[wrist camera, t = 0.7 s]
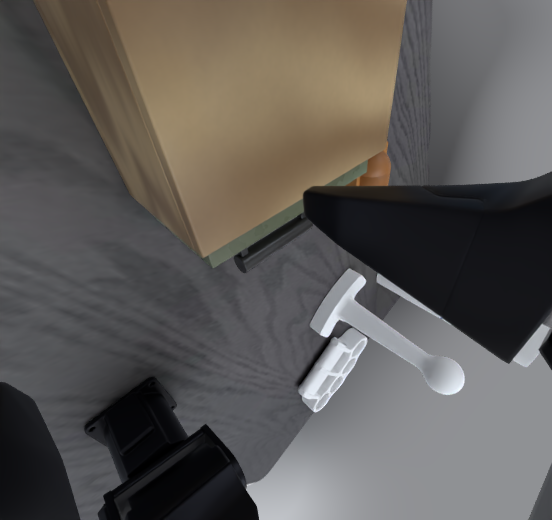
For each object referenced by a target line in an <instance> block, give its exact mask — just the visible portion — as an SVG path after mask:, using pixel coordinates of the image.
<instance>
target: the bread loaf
mask: <svg viewBox="0 0 552 520" xmlns="http://www.w3.org/2000/svg"><path fill="white" fill-rule="evenodd" d="M387 147H388V142H387V143H386V148H385V150H383V151H381V152H380V153H378V154H376V155H375V156H373V157H371V158H370V159H368V164H367V172H366V173H365V174H363V175H361V176H360V177H358V178H357V179H355V180H353V181H352V182H350V183H349V184H347V185H345V186H388V182H389V176H390V170H391V163H390V159H389V157H388V156H387Z"/></svg>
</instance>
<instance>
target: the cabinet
mask: <svg viewBox="0 0 552 520" xmlns="http://www.w3.org/2000/svg"><path fill="white" fill-rule="evenodd" d="M33 2H34V4H35V6H36V8H37V10H38V12H39V14H40V16H41V18H42V20H43V22H44V24H45V26H46V28H47V30H48V32H49V34H50V36H51V38H52V40H53V42H54V44H55V46H56V48H57V50H58V52H59V54H60V56H61V58H62V59H63V61H64V63H65V65H66V67H67V69H68V71H69V73H70V75H71V77H72V79H73V81H74V83H75V85H76V87H77V89H78V91H79V93H80V95H81V97H82V99H83V101H84V103H85V105H86V107H87V109H88V111H89V113H90V115H91V117H92V119H93V121H94V123H95V125H96V127H97V129H98V131H99V133H100V135H101V137H102V139H103V141H104V143H105V145H106V147H107V149H108V151H109V153H110V155H111V157H112V159H113V161H114V163H115V165H116V167H117V169H118V171H119V173H120V175H121V177H122V179H123V181H124V183H125V185H126V187H127V189H128V191H129V193H130V195H131V196H132V197H133V198H134V199H135V200H136V201H137V202H139V203H140V204H141V205H142V206H143V207H144V208H146V209H147V210H148V211H149V212H150V213H151V214H152V215H154V216H155V217H156V218H157V219H158V220H159V221H160V222H162V223H163V224H164V225H165V226H166V227H167V228H169V229H170V230H171V231H172V232H173V233H174V234H175V235H177V236H178V237H179V238H180V239H181V240H182V241H184V242H185V243H186V244H187V245H188V246H189V247H190V248H192V249H193V250H194V251H196V252H197V253H198V254H199V255H200V256H201V257H203V258H204V257H206V256H208V255H209V254H211V253H213V252H214V251H216V250H218V249H219V248H221V247H223V246H224V245H226V244H228V243H229V242H231V241H233V240H234V239H236V238H238V237H239V236H241V235H243V234H244V233H246V232H248V231H249V230H251V229H253V228H254V227H256V226H258V225H259V224H261V223H263V222H264V221H266V220H268V219H269V218H271V217H273V216H274V215H276V214H278V213H279V212H281V211H283V210H284V209H286V208H288V207H289V206H291V205H293V204H294V203H296V202H298V201H299V200H301V199H303V192H304V191H305V190H307V189H309V188H310V187H312V186H324V185H326V184H328V183H329V182H331V181H333V180H334V179H336V178H338V177H339V176H341V175H343V174H344V173H346V172H348V171H349V170H351V169H353V168H354V167H356V166H358V165H359V164H361V163H363V162H365V161H366V160H368V159H370V158H371V157H373V156H375V155H376V154H378V153H380V152H381V151H383V150H385V148H386V143H387V136H388V129H389V122H390V115H391V108H392V101H393V94H394V87H395V80H396V73H397V66H398V59H399V52H400V45H401V38H402V31H403V24H404V17H405V10H406V3H407V0H33Z"/></svg>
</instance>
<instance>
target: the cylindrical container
mask: <svg viewBox="0 0 552 520" xmlns="http://www.w3.org/2000/svg"><path fill="white" fill-rule="evenodd" d="M377 283H379V284H381V285H382V286H384V287H386V288H388V289H389V290H391V291H393V292H394V293H396V294H398V295H400V296H401V297H404V298H405V299H407V300H408V301H410V302H412V303H414V304H416V305H417V306H419V307H421V308H422V309H424V310H426V311H428V312H429V313H431V314H433V315H435V316H436V317H438V318H440V319H442V320H443V321H445V320H444V319H443V318H441V316H439V315H437V314H436V313H434V312H433V311H432V310H430V309H429V308H427V307H426V306H424V305H423V304H422V303H420V302H419V301H417V300H416V299H414V298H413V297H412V296H410V295H409V294H407V293H406V292H404V291H403V290H402V289H400V288H399V287H397V286H396V285H394V284H393V283H392V282H390V281H389V280H387V279H386V278H384V277H383V276H382V275H380V274H379V273H378V274H377ZM445 322H447V321H445ZM447 323H448V322H447ZM449 324H450V323H449ZM450 325H451V324H450ZM452 326H453V325H452ZM549 329H550V328H549V327H547V326H545V325H543V324H542V325H541V326H540V327H539V328H538V329H537V331H536V332H535V333H534V334H533V336H532V337H531V338H530V339H529V340H528V342H527V343H526V344H525V345H524V346H523V348H522V349H521V350H520V351H519V353H518V354H517V355H516V356H515V357H514V359H513V361H515V362H517V363H519V364H520V365H522V366H524V367H528V366H529V365H530V364H531V363H532V362H533V361H534V359H535V358H536V357H537V356H538V354H539V353H540V351H539V350H538V349H539V348H540V346H541V344H542V342H543V340H544V338H545V337H546V335H547V333H548V331H549Z"/></svg>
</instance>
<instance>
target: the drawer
mask: <svg viewBox="0 0 552 520" xmlns="http://www.w3.org/2000/svg"><path fill="white" fill-rule="evenodd" d="M367 164H368V160H366V161H365V162H363V163H361V164H359V165H358V166H356V167H354V168H353V169H351V170H349V171H348V172H346V173H344V174H343V175H341V176H339V177H338V178H336V179H334V180H333V181H331V182H329V183H328V184H326V185H324V186H345V185H347V184H349V183H350V182H352V181H353V180H355V179H357V178H358V177H360V176H361V175H363V174H365V173H366V172H367ZM296 216H297V217H296ZM154 217H155V216H154ZM295 217H296V218H295ZM293 218H294V219H293ZM155 219H157V218H156V217H155ZM291 219H292V220H291ZM157 220H158V219H157ZM290 220H291V221H290ZM158 221H159V220H158ZM288 221H289V222H288ZM159 222H160V221H159ZM287 222H288V223H287ZM160 223H161V224H162V225H163V226H165V225H164V224H163V223H162V222H160ZM285 223H286V224H285ZM283 224H284V225H283ZM282 225H283V226H282ZM280 226H281V227H280ZM165 227H166V226H165ZM279 227H280V228H279ZM312 227H313V223H312V222H311V221H310V220H308V219H307V217H306V216H305V214H304V206H303V199H301V200H299V201H298V202H296V203H294V204H293V205H291V206H289V207H288V208H286V209H284V210H283V211H281V212H279V213H278V214H276V215H274V216H273V217H271V218H269V219H268V220H266V221H264V222H263V223H261V224H259V225H258V226H256V227H254V228H253V229H251V230H249V231H248V232H246V233H244V234H243V235H241V236H239V237H238V238H236V239H234V240H233V241H231V242H229V243H228V244H226V245H224V246H223V247H221V248H219V249H218V250H216V251H214V252H213V253H211V254H209V255H208V256H206V257H204V258H203V257H201V256H200V255H199V254H198V253H197V252H196V251H194V250H193V249H192V248H190V247H189V246H188V245H187V244H186V243H185V242H184V241H182V240H181V239H180V238H179V237H178V236H177V235H175V234H174V233H173V232H172V231H171V230H170V229H169V228H167V227H166V228H167V229H168V230H169V231H170V232H171V233H173V234H174V235H175V236H176V237H177V238H178V239H179V240H181V241H182V242H183V243H184V244H185V245H186V246H187V247H189V248H190V249H191V250H192V251H193V252H194V253H195V254H197V255H198V256H199V257H200V258H201V259H202V260H203V261H205V262H206V263H207V264H208V265H209V266H210V267H211V268H215V267H217V266H218V265H220V264H221V263H223V262H225V261H226V260H228V259H229V258H231V257H233V256H234V255H235V256H234V260H235V263H236V265H237V267H238V268H239V269H240V270H241V271H242V272H243V273H247V272H248V271H250V270H251V269H253V268H254V267H256V266H257V265H259V264H260V263H262V262H263V261H265V260H266V259H268V258H269V257H270V256H272V255H273V254H275V253H276V252H278V251H279V250H281V249H282V248H284V247H285V246H287V245H288V244H290V243H291V242H293V241H294V240H296V239H297V238H299V237H300V236H302V235H303V234H304V233H306V232H307V231H309V230H310V229H312ZM277 228H278V229H277ZM275 229H277V230H275ZM274 230H275V231H274ZM272 231H273V232H272ZM271 232H272V233H271ZM269 233H270V234H269ZM268 234H269V235H268ZM266 235H267V236H266ZM264 236H265V237H264ZM263 237H264V238H263ZM261 238H262V239H261ZM260 239H261V240H260ZM258 240H259V241H258ZM256 241H257V242H256ZM255 242H256V243H255ZM253 243H254V244H253ZM252 244H253V245H252ZM250 245H251V246H250ZM248 246H250V247H248ZM247 247H248V248H247ZM237 253H238V254H237ZM236 254H237V255H236Z"/></svg>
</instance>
